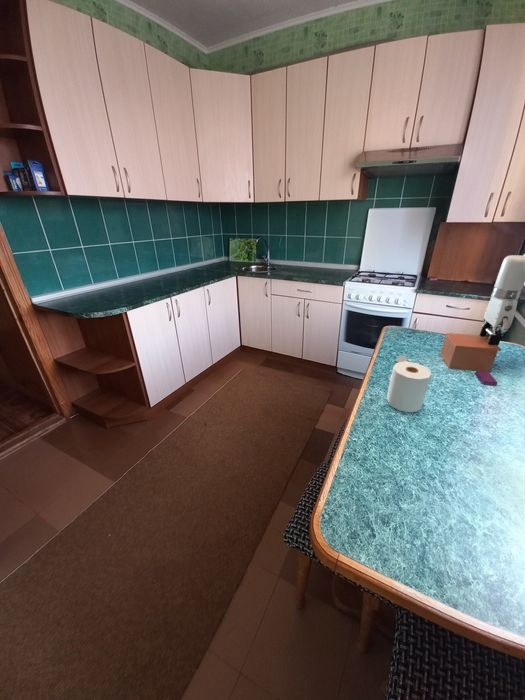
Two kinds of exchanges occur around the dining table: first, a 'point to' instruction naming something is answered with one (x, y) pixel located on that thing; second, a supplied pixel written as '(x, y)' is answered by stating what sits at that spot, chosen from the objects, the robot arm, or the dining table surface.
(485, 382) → the chocolate bar
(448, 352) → the brown box body
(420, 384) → the toilet paper
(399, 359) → the spoon
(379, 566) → the dining table surface
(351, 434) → the dining table surface
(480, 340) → the brown box lid
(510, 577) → the dining table surface
